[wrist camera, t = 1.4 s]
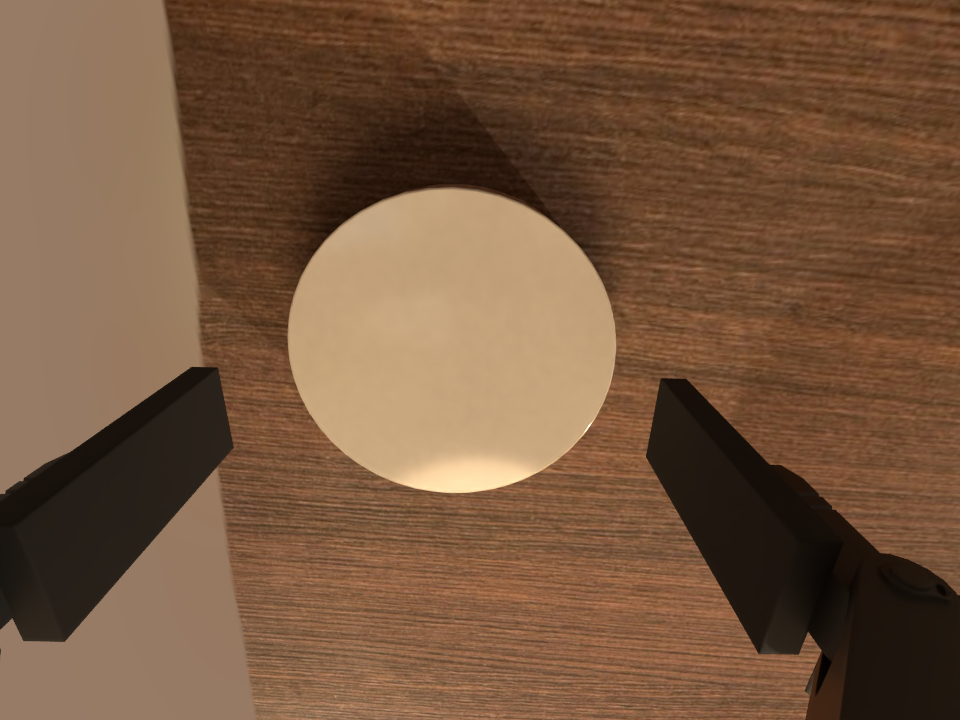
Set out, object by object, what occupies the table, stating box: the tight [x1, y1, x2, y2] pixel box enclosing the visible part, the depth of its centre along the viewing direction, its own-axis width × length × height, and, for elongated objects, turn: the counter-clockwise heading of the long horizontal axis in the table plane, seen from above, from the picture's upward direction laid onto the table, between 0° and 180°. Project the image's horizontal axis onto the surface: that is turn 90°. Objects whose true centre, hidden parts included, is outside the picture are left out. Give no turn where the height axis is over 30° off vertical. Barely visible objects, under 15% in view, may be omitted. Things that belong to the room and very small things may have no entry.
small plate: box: [287, 184, 616, 493], centre depth 19 cm, size 12×12×2 cm
